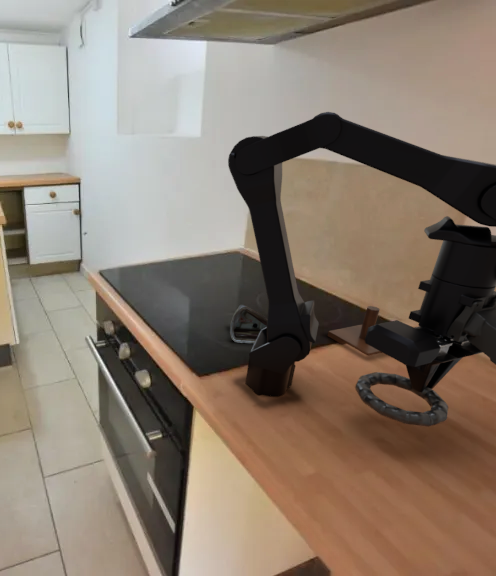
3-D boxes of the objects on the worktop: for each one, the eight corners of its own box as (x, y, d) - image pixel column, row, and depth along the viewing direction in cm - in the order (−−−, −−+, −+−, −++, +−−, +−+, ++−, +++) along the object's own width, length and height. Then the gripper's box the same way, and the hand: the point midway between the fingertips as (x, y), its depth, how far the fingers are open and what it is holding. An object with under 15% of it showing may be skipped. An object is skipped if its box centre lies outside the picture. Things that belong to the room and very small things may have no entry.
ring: (407, 437, 44) (411, 426, 43) (338, 388, 52) (340, 378, 52) (464, 417, 47) (469, 407, 46) (389, 374, 55) (392, 364, 54)
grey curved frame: (283, 329, 81) (245, 288, 81) (296, 337, 74) (255, 291, 74) (248, 358, 82) (211, 317, 82) (257, 368, 75) (217, 323, 75)
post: (366, 359, 70) (377, 321, 67) (327, 336, 78) (335, 302, 75) (402, 350, 72) (414, 314, 70) (360, 329, 80) (369, 296, 77)
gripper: (492, 321, 34) (437, 451, 40) (609, 294, 40) (545, 413, 46) (378, 279, 44) (347, 389, 50) (484, 263, 50) (445, 363, 56)
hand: (421, 389), depth 50 cm, fingers closed on ring, 1 cm apart
